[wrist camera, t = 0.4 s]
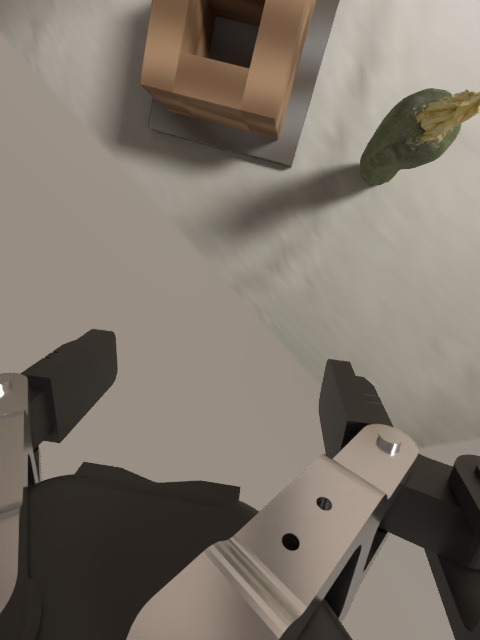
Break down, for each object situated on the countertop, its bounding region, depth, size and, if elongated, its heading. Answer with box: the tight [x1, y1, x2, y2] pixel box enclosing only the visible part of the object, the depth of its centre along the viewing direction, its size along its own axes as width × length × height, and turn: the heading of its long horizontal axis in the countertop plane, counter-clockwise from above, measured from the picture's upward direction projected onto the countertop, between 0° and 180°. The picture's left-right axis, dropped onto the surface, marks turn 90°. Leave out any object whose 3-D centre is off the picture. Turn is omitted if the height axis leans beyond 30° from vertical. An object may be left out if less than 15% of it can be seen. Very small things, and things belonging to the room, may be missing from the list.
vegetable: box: [360, 88, 480, 185], centre depth 25 cm, size 4×4×20 cm
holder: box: [140, 0, 339, 167], centre depth 30 cm, size 16×16×8 cm
